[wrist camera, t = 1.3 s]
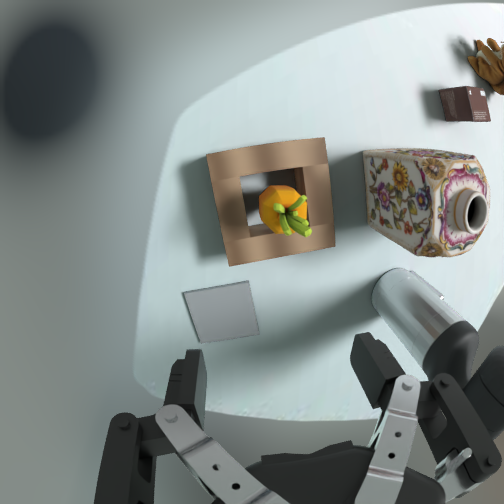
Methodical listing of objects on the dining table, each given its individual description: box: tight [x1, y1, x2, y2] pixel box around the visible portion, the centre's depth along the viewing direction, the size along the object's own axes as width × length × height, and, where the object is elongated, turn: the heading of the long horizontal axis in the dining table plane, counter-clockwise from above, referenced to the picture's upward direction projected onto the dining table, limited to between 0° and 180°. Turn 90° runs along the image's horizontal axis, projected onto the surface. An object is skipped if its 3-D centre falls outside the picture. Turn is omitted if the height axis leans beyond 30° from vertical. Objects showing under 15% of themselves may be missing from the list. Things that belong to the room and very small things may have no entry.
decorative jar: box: [363, 149, 490, 257], centre depth 29 cm, size 12×12×18 cm
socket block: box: [206, 137, 335, 266], centre depth 34 cm, size 14×14×5 cm
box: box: [439, 86, 491, 122], centre depth 29 cm, size 6×6×7 cm
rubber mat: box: [184, 281, 259, 343], centre depth 42 cm, size 10×10×1 cm
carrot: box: [259, 185, 312, 237], centre depth 29 cm, size 5×5×15 cm
